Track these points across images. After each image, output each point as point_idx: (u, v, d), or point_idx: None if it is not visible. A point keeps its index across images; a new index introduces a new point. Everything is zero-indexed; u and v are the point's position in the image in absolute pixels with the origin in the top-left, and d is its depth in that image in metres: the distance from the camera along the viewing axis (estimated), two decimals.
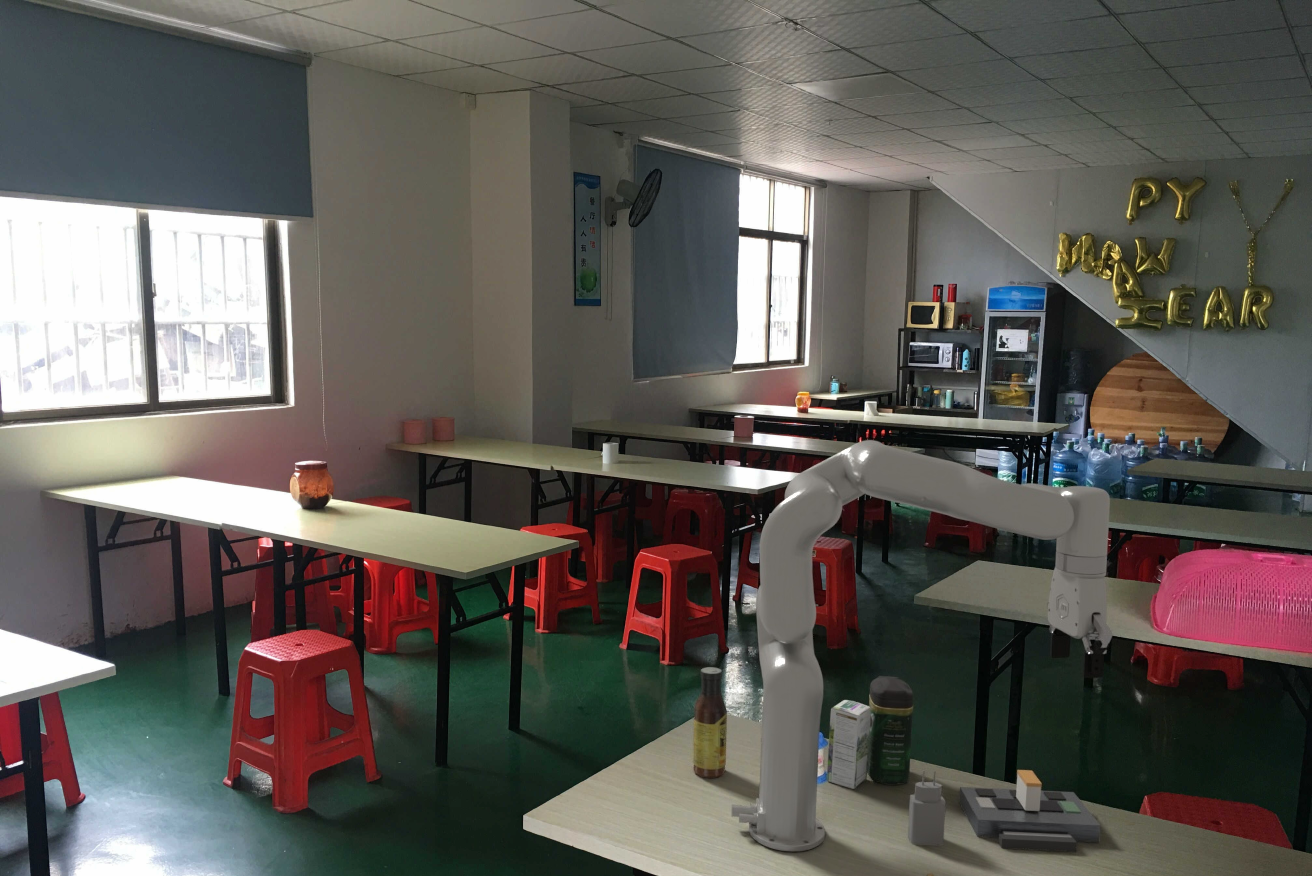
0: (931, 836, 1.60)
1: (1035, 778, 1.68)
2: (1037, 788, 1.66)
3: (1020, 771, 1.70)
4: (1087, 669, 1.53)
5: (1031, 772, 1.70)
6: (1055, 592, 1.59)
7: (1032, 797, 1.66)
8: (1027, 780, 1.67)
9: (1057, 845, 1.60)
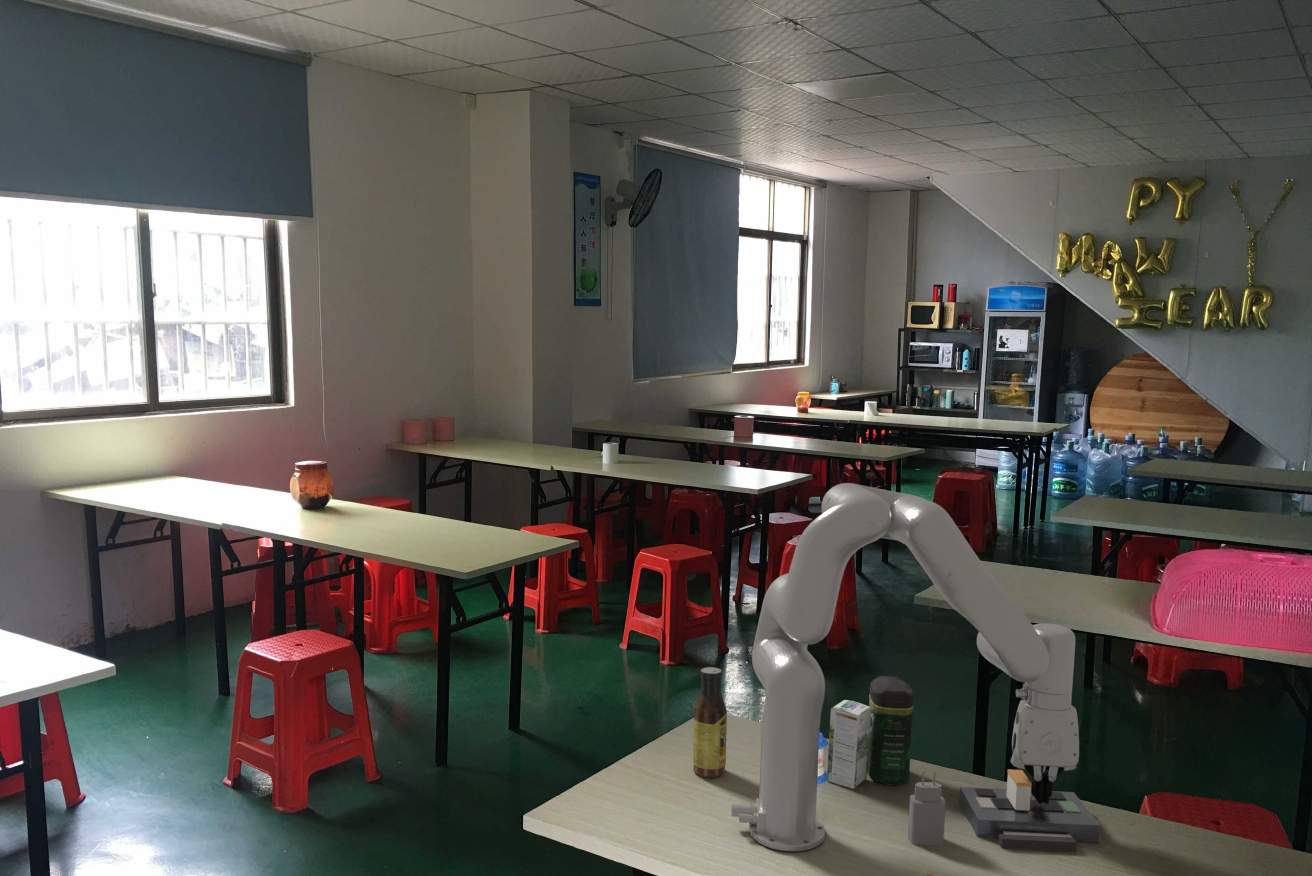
0: (931, 836, 1.60)
1: (1025, 778, 1.68)
2: (1027, 788, 1.66)
3: (1010, 771, 1.70)
4: None
5: (1021, 772, 1.70)
6: (1037, 732, 1.65)
7: (1022, 796, 1.66)
8: (1017, 780, 1.67)
9: (1057, 845, 1.60)
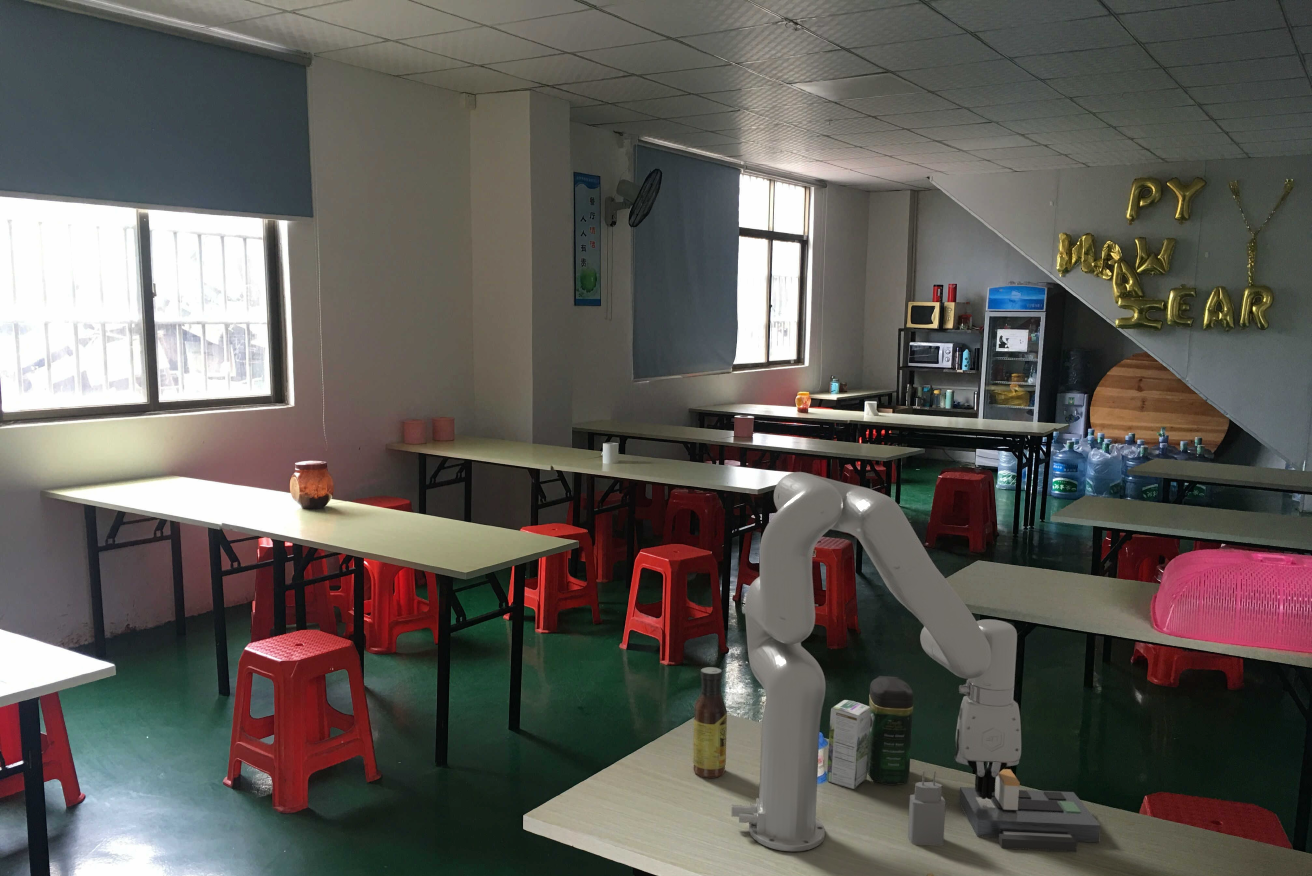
0: (931, 836, 1.60)
1: (1013, 777, 1.68)
2: (1015, 787, 1.66)
3: None
4: None
5: (1010, 771, 1.70)
6: (979, 728, 1.65)
7: (1010, 796, 1.66)
8: (1005, 779, 1.67)
9: (1057, 845, 1.60)
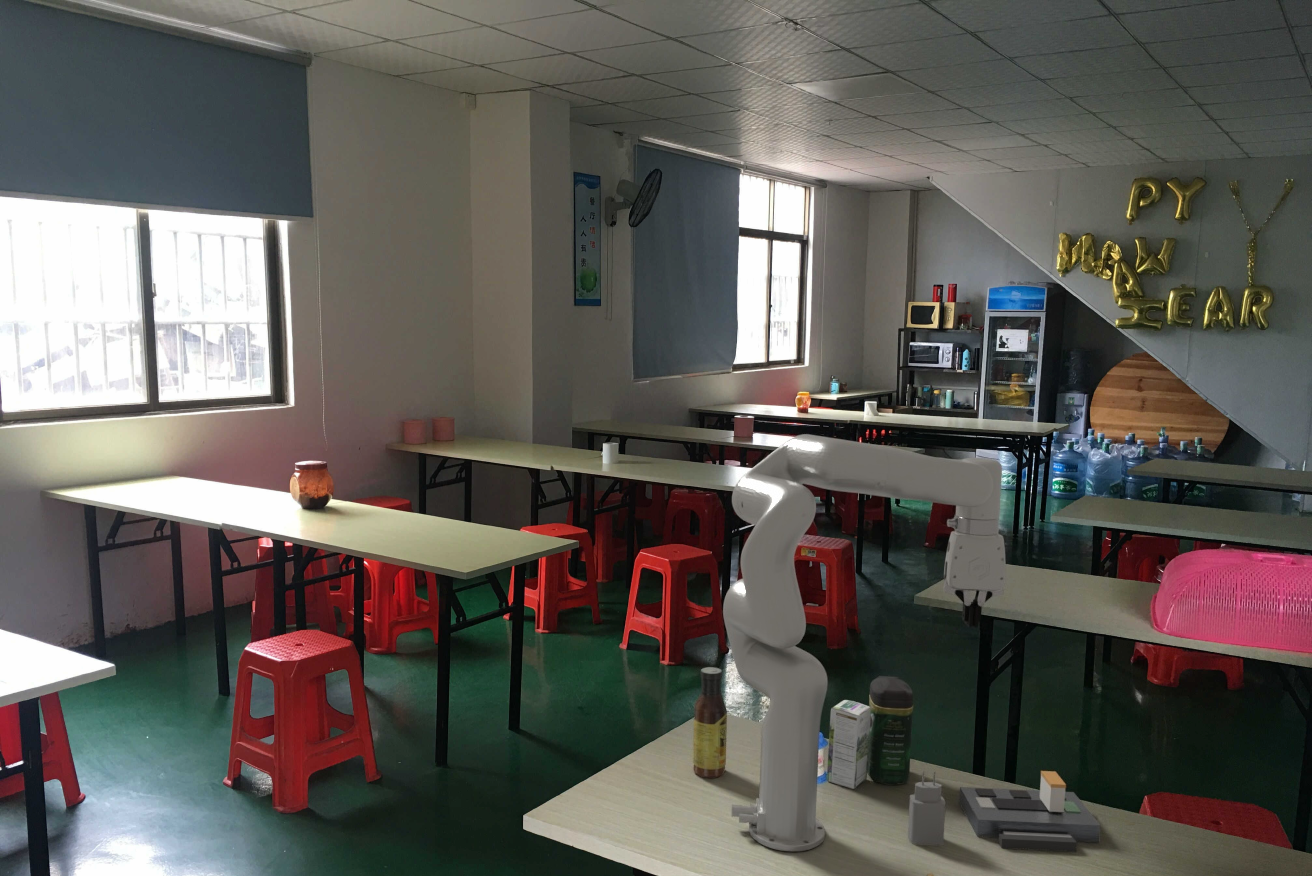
0: (931, 836, 1.60)
1: (1059, 779, 1.67)
2: (1061, 789, 1.66)
3: (1044, 772, 1.70)
4: None
5: (1055, 773, 1.70)
6: (966, 558, 1.74)
7: (1056, 798, 1.66)
8: (1051, 781, 1.67)
9: (1057, 845, 1.60)
